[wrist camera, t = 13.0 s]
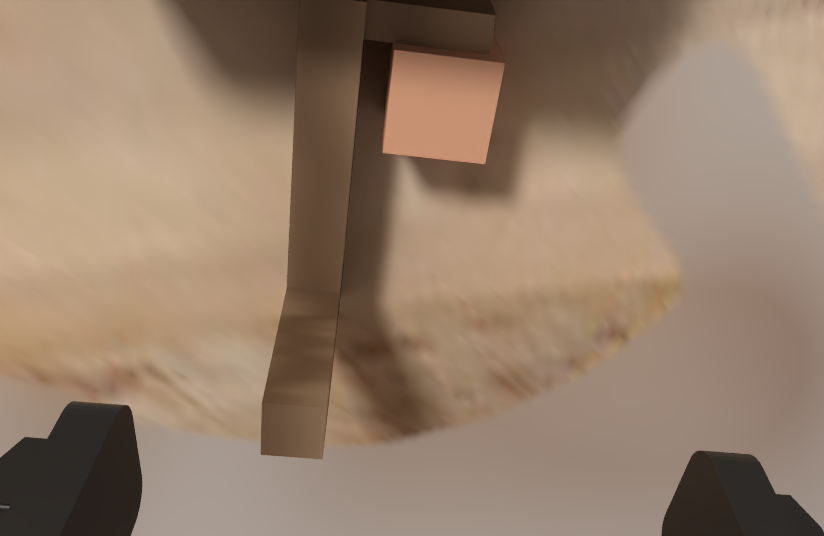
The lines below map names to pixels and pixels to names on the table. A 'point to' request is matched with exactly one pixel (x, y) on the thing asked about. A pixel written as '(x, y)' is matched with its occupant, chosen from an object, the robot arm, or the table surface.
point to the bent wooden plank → (336, 190)
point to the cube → (441, 102)
